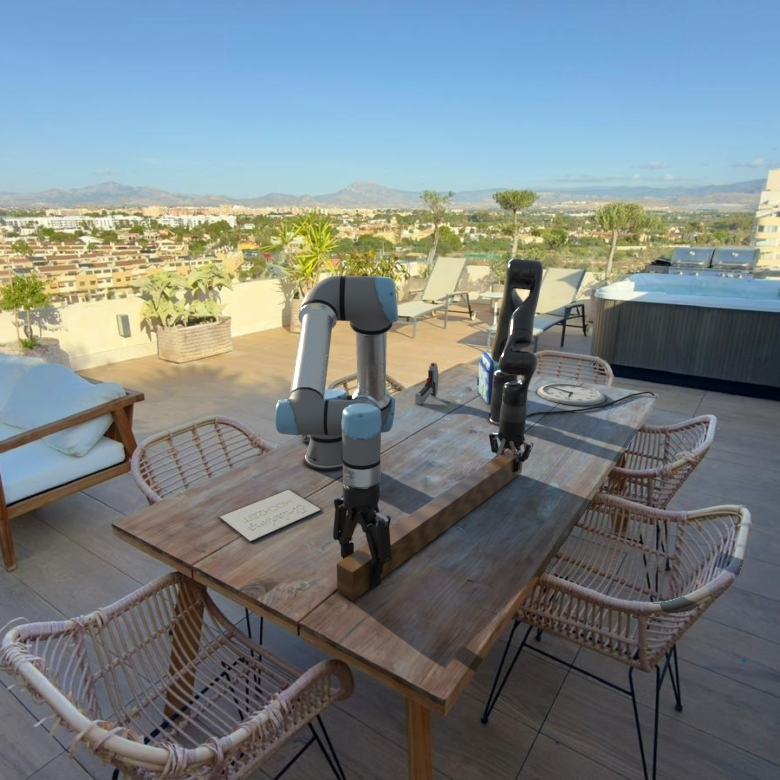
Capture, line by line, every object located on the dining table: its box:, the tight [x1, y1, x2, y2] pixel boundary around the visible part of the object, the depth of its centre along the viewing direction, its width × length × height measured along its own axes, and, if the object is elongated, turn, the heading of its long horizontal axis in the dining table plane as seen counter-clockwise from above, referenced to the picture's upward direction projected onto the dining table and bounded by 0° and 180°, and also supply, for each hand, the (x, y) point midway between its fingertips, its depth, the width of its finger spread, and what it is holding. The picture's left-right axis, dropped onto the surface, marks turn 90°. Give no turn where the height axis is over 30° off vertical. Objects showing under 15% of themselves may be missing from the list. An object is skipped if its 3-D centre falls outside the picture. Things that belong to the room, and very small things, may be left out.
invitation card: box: [219, 489, 322, 542], centre depth 138 cm, size 21×1×15 cm
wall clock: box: [537, 383, 606, 407], centre depth 241 cm, size 30×2×30 cm
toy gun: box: [414, 362, 439, 406], centre depth 228 cm, size 2×16×15 cm
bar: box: [336, 449, 524, 602], centre depth 135 cm, size 76×4×7 cm, turn 140°
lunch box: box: [476, 351, 500, 406], centre depth 230 cm, size 26×11×21 cm, turn 179°
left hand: (361, 578), depth 111 cm, fingers open, 7 cm apart
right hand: (508, 468), depth 159 cm, fingers open, 4 cm apart
